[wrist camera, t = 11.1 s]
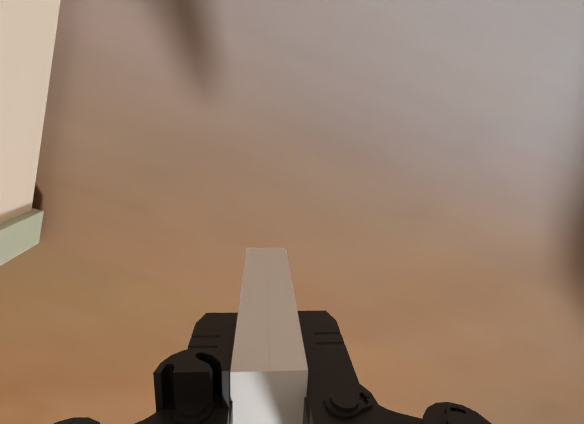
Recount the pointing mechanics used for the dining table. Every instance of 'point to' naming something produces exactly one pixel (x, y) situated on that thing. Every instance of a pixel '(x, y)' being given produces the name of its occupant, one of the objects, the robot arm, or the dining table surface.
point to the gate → (22, 115)
